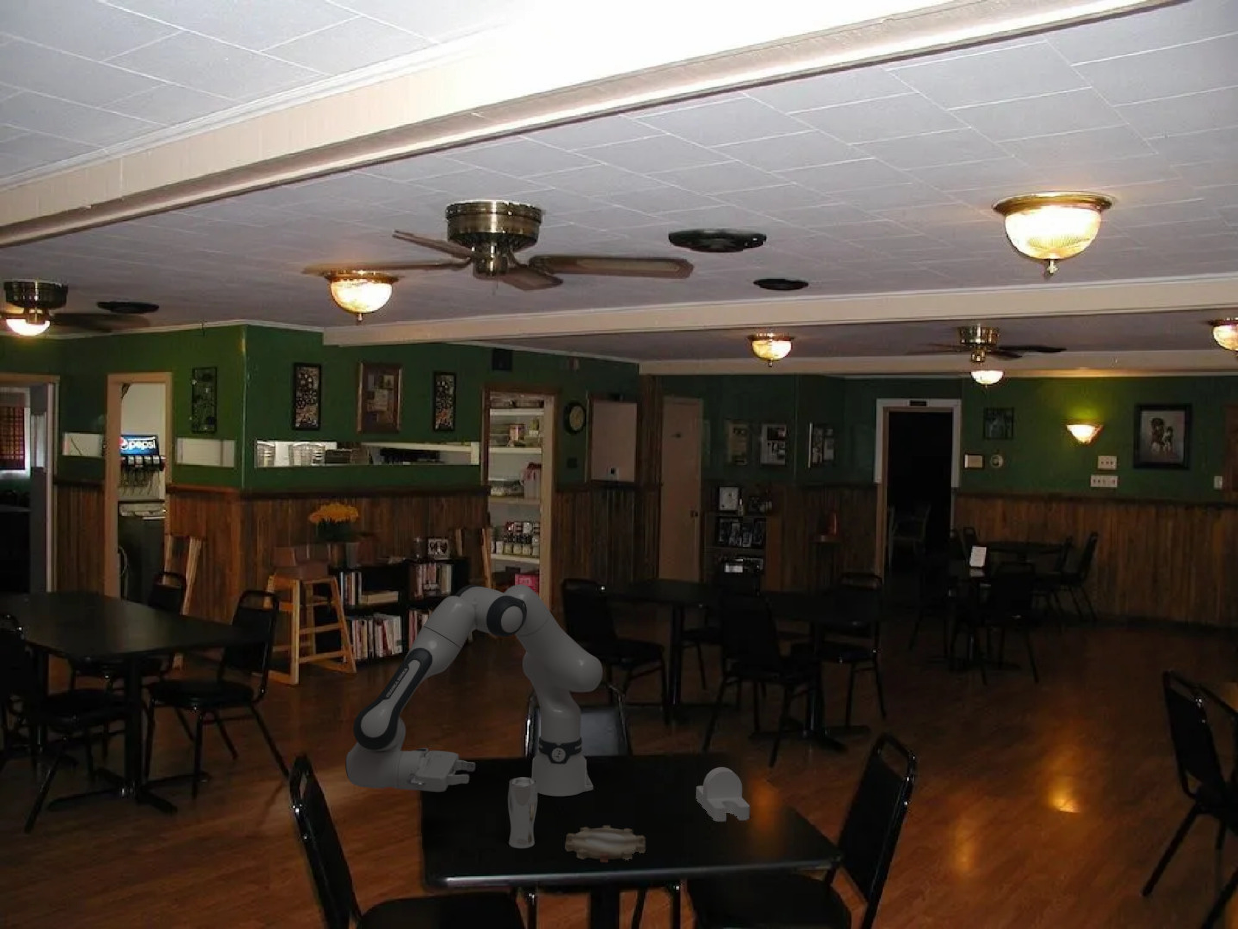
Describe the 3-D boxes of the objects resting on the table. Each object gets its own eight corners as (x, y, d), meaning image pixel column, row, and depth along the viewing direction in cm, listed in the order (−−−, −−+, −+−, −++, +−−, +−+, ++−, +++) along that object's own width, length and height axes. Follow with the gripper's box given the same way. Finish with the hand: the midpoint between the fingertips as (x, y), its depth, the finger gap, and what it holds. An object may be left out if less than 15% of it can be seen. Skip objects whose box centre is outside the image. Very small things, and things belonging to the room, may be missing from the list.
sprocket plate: (568, 830, 272) (568, 824, 272) (644, 832, 272) (645, 826, 272) (562, 861, 253) (563, 854, 253) (645, 863, 253) (645, 857, 253)
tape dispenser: (714, 822, 281) (715, 781, 281) (694, 799, 299) (696, 760, 299) (750, 820, 283) (751, 779, 283) (728, 797, 301) (729, 758, 301)
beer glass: (501, 843, 263) (502, 781, 263) (523, 836, 268) (525, 775, 267) (519, 851, 258) (521, 788, 258) (542, 844, 263) (543, 782, 262)
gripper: (405, 770, 252) (465, 772, 252) (422, 745, 273) (478, 748, 272) (404, 797, 252) (464, 800, 252) (421, 771, 273) (477, 773, 272)
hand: (471, 772), depth 262 cm, fingers open, 8 cm apart
